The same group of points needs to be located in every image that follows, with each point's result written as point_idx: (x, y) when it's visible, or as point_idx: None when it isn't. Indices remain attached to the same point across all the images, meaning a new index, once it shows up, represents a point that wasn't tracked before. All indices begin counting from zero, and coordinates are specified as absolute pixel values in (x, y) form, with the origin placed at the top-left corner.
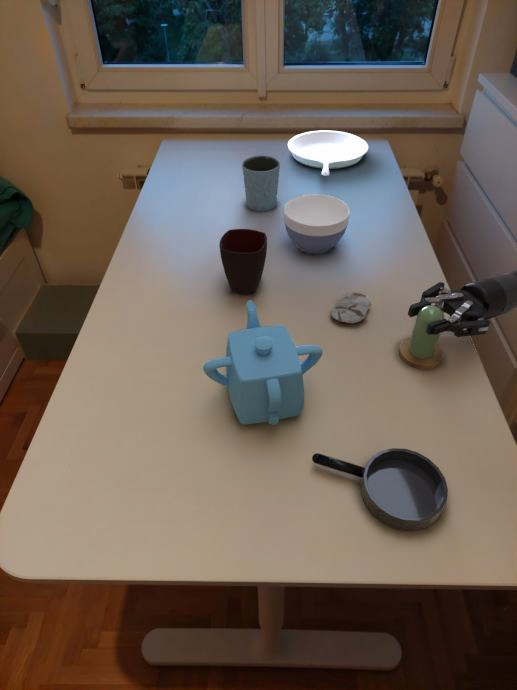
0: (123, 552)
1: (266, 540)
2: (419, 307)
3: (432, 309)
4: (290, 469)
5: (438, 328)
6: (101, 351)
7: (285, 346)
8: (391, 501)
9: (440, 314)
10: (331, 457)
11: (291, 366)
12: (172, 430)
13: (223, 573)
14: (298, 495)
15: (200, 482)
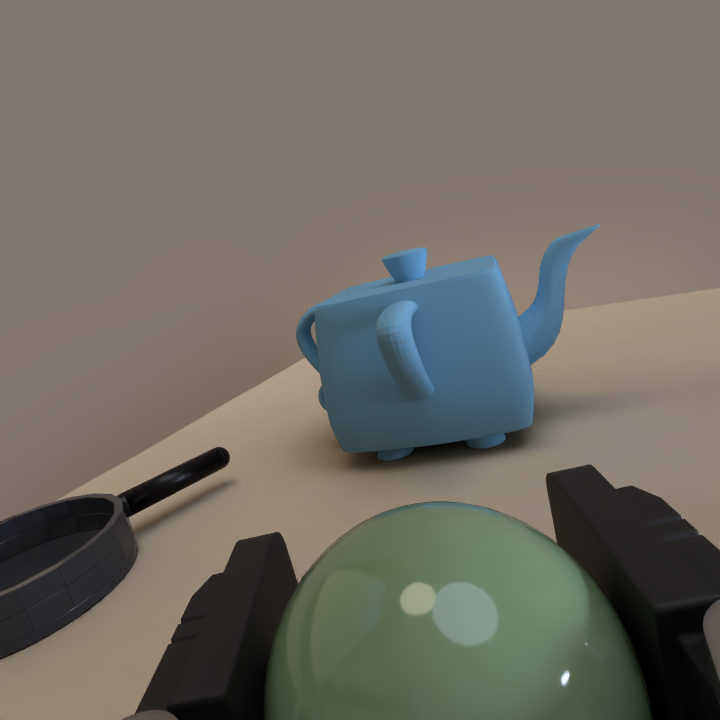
0: (279, 380)
1: (184, 446)
2: (587, 537)
3: (391, 518)
4: (254, 460)
5: (190, 601)
6: (618, 311)
7: (406, 285)
8: (41, 561)
9: (305, 630)
10: (194, 464)
11: (338, 300)
12: None
13: (190, 425)
14: None
15: (314, 400)
